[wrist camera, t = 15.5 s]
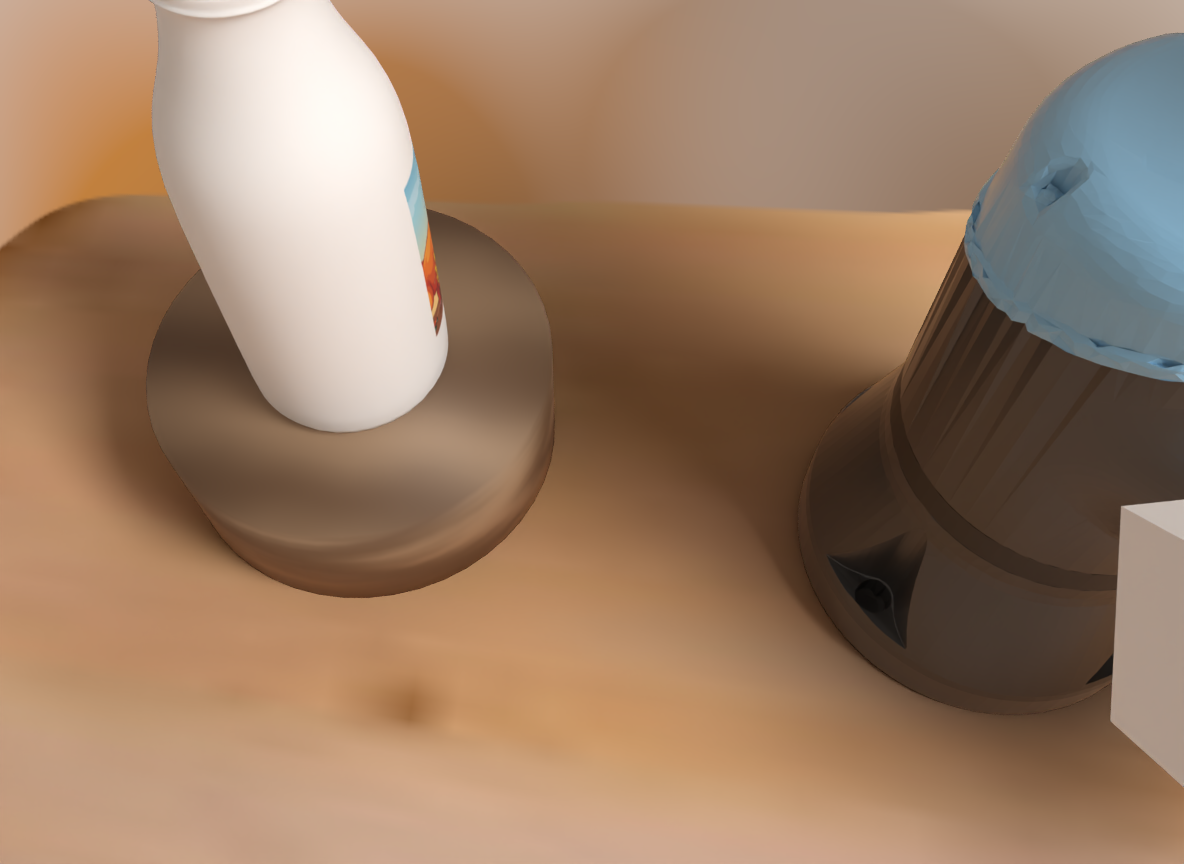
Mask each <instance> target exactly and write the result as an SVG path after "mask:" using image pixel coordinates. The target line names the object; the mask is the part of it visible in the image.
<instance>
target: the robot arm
mask: <svg viewBox="0 0 1184 864" xmlns="http://www.w3.org/2000/svg"><path fill="white" fill-rule="evenodd" d="M798 533H799V542H800V548H801V553H802V557H803V561H804V565H805V568H806V571H807V574H808V577H809V579H810V582H811V584H812V586H813V589H814V591H815V593H816V595H817V597H818V599H819V601H820V603H821V604H822V606H823V607H824V609H825V611H826V612H827V614H828V615H829V617H830V618H831V620H832V621H833V623H834V624H835V625H836V627H837V628H838V629H839V630H840V632H841V633H842V634H843V635H844V636H845V638H846V639H847V640H848V641H849V642H850V643H851V644H852V645H853V646H854V647H855V648H856V649H857V650H858V651H859V652H860V653H861V654H862V655H863V656H864V657H865V658H867V659H868V660H869V661H870V662H871V663H873V664H874V665H875V666H876V667H877V668H879V669H880V670H882V671H883V672H884V673H886V674H887V675H889V676H890V677H892V678H893V679H895V680H896V681H898V682H900V683H901V684H903V685H905V686H907V687H908V688H910V689H912V690H914V691H916V692H918V693H920V694H922V695H925V696H927V697H929V698H931V699H934V700H937V701H939V702H942V703H945V704H948V705H951V706H955V707H958V708H962V709H966V710H971V711H976V712H982V713H989V714H1000V715H1022V714H1034V713H1041V712H1047V711H1051V710H1056V709H1059V708H1063V707H1066V706H1069V705H1072V704H1074V703H1077V702H1079V701H1081V700H1084V699H1086V698H1087V697H1089V696H1091V695H1093V694H1095V693H1097V692H1098V691H1100V690H1101V689H1103V688H1104V687H1106V686H1107V685H1109V684H1110V683H1112V698H1111V717H1110V721H1111V722H1112V723H1113V724H1114V725H1115V726H1116V727H1117V728H1119V729H1120V730H1121V731H1122V732H1123V733H1124V734H1125V735H1126V736H1127V737H1128V738H1130V739H1131V740H1132V741H1133V742H1134V743H1135V744H1136V745H1137V746H1138V747H1140V748H1141V749H1142V750H1143V751H1144V752H1145V753H1146V754H1147V755H1148V756H1150V757H1151V758H1152V759H1153V760H1154V761H1155V762H1156V763H1157V764H1158V765H1160V766H1161V767H1162V768H1163V769H1164V770H1165V771H1166V772H1167V773H1168V774H1169V775H1171V776H1172V777H1173V778H1174V779H1175V780H1176V781H1177V782H1178V783H1179V784H1181V785H1182V786H1183V787H1184V33H1171V34H1164V35H1160V36H1156V37H1152V38H1149V39H1145V40H1142V41H1138V42H1135V43H1132V44H1130V45H1127V46H1124V47H1122V48H1119V49H1117V50H1114V51H1112V52H1110V53H1108V54H1106V55H1104V56H1102V57H1100V58H1098V59H1097V60H1095V61H1093V62H1091V63H1089V64H1087V65H1085V66H1084V67H1082V68H1081V69H1079V70H1078V71H1077V72H1075V73H1073V74H1072V75H1071V76H1070V77H1068V78H1067V79H1066V80H1064V81H1063V82H1062V83H1060V84H1059V85H1058V86H1057V87H1056V88H1055V89H1054V90H1053V91H1052V92H1051V93H1050V94H1049V95H1048V96H1047V97H1046V98H1045V99H1044V100H1043V101H1042V102H1041V104H1040V105H1039V106H1038V107H1037V108H1036V110H1035V111H1034V113H1033V114H1032V115H1031V117H1030V118H1029V120H1028V121H1027V122H1026V124H1025V126H1024V127H1023V129H1022V131H1021V132H1020V134H1019V136H1018V138H1017V139H1016V141H1015V143H1014V144H1013V146H1012V148H1011V150H1010V151H1009V153H1008V155H1007V156H1006V158H1005V160H1004V162H1003V163H1002V165H1001V167H1000V168H999V169H998V170H997V171H996V172H995V173H994V174H993V175H992V176H991V177H990V178H989V179H988V181H987V182H986V183H985V185H984V186H983V187H982V189H981V190H980V192H979V194H978V195H977V197H976V199H975V201H974V204H973V208H972V214H971V216H970V217H969V219H968V221H967V225H966V232H965V236H964V238H963V240H962V242H961V244H960V247H959V249H958V251H957V253H956V255H955V257H954V259H953V261H952V263H951V266H950V268H949V270H948V272H947V274H946V276H945V278H944V280H943V282H942V285H941V287H940V289H939V291H938V293H937V295H936V297H935V299H934V302H933V304H932V306H931V308H930V310H929V312H928V314H927V316H926V318H925V321H924V323H923V325H922V327H921V329H920V331H919V333H918V335H917V338H916V340H915V342H914V344H913V346H912V348H911V350H910V352H909V355H908V357H907V359H906V362H905V363H903V364H902V365H900V366H899V367H898V368H896V369H895V370H894V371H892V372H891V373H889V374H888V375H887V376H885V377H884V378H883V379H882V380H880V381H879V382H877V383H875V384H874V385H872V386H870V387H869V388H867V389H866V390H864V391H863V392H861V393H860V394H859V395H857V396H856V397H855V398H854V399H853V400H852V401H850V402H849V403H848V404H847V405H846V406H845V407H844V408H843V409H842V410H841V412H840V413H839V414H838V415H837V416H836V418H835V419H834V420H833V421H832V423H831V424H830V426H829V427H828V429H827V430H826V431H825V433H824V435H823V437H822V438H821V440H820V442H819V444H818V447H817V449H816V451H815V453H814V456H813V458H812V461H811V463H810V466H809V468H808V470H807V473H806V476H805V479H804V482H803V485H802V490H801V494H800V500H799V507H798Z"/></svg>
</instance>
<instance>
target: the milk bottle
mask: <svg viewBox="0 0 1184 864" xmlns="http://www.w3.org/2000/svg"><path fill="white" fill-rule="evenodd" d="M149 1H150V2H152V3H153V4H154V5H155V9H156V16H157V25H158V61H157V69H156V76H155V83H154V90H153V100H152V132H153V139H154V146H155V151H156V158H157V161H158V165H159V168H160V171H161V175H162V179H163V182H164V185H165V188H166V190H167V193H168V195H169V198H170V200H171V203H172V205H173V208H174V210H175V212H176V215H177V217H178V220H179V222H180V225H181V227H182V229H183V231H184V234H185V236H186V238H187V240H188V242H189V244H190V246H191V249H192V251H193V253H194V255H195V257H196V259H197V261H198V264H199V266H200V268H201V270H202V272H203V274H204V277H205V279H206V281H207V283H208V285H209V287H210V289H211V292H212V294H213V296H214V298H215V300H216V302H217V304H218V306H219V308H220V310H221V312H222V315H223V317H224V319H225V321H226V323H227V325H228V327H229V329H230V331H231V333H232V335H233V337H234V340H235V342H236V344H237V346H238V348H239V350H240V352H241V354H242V356H243V358H244V360H245V362H246V364H247V366H248V368H249V370H250V372H251V374H252V376H253V378H254V380H255V382H256V384H257V385H258V387H259V389H260V391H261V392H262V394H263V396H264V397H265V398H266V400H267V401H268V402H269V403H270V404H271V405H272V406H273V407H274V408H275V409H276V410H277V411H279V412H280V413H281V414H282V415H284V416H286V417H287V418H289V419H291V420H293V421H295V422H297V423H299V424H301V425H304V426H307V427H310V428H313V429H316V430H319V431H328V432H335V433H345V432H360V431H364V430H369V429H374V428H377V427H380V426H382V425H385V424H387V423H390V422H393V421H395V420H396V419H398V418H399V417H401V416H403V415H405V414H406V413H408V412H410V411H411V410H412V409H413V408H414V407H415V406H416V405H418V404H419V403H420V402H421V401H422V400H423V399H424V398H425V397H426V395H427V394H428V393H429V391H430V390H431V389H432V388H433V387H434V385H435V383H436V382H437V380H438V378H439V376H440V375H441V372H442V370H443V368H444V365H445V362H446V358H447V353H448V332H447V324H446V317H445V311H444V306H443V300H442V294H441V289H440V283H439V277H438V272H437V266H436V261H435V255H434V250H433V244H432V238H431V233H430V227H429V222H428V217H427V212H426V207H425V201H424V197H423V191H422V186H421V181H420V176H419V171H418V165H417V161H416V157H415V153H414V149H413V144H412V140H411V136H410V132H409V128H408V124H407V121H406V118H405V115H404V112H403V109H402V107H401V104H400V101H399V98H398V96H397V94H396V92H395V90H394V88H393V86H392V84H391V82H390V80H389V78H388V76H387V74H386V73H385V71H384V69H383V68H382V66H381V65H380V63H379V62H378V60H377V58H376V57H375V55H374V54H373V53H372V52H371V50H370V49H369V48H368V47H367V46H366V44H365V43H364V42H363V41H362V39H361V38H360V37H359V36H358V35H357V34H356V33H355V31H354V30H353V29H352V28H351V27H350V26H349V25H348V23H347V22H346V21H345V20H344V19H343V18H342V16H341V15H340V14H339V12H338V11H337V10H336V9H335V7H334V6H333V4H332V3H331V1H330V0H149Z"/></svg>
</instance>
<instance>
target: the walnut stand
mask: <svg viewBox="0 0 1184 864" xmlns="http://www.w3.org/2000/svg"><path fill="white" fill-rule="evenodd" d="M426 212H427V217H428V222H429V227H430V233H431V238H432V244H433V250H434V255H435V261H436V266H437V272H438V277H439V283H440V289H441V294H442V300H443V306H444V311H445V317H446V324H447V332H448V353H447V358H446V362H445V365H444V368H443V370H442V372H441V375H440V376H439V378H438V380H437V382H436V383H435V385H434V387H433V388H432V389H431V390H430V391H429V393H428V394H427V395H426V397H425V398H424V399H423V400H422V401H421V402H420V403H419V404H418V405H416V406H415V407H414V408H413V409H412V410H411V411H410V412H408V413H406V414H405V415H403V416H401V417H399V418H398V419H396V420H395V421H393V422H390V423H387V424H385V425H382V426H380V427H377V428H374V429H369V430H364V431H360V432H345V433H335V432H328V431H319V430H316V429H313V428H310V427H307V426H304V425H301V424H299V423H297V422H295V421H293V420H291V419H289V418H287V417H286V416H284V415H282V414H281V413H280V412H279V411H277V410H276V409H275V408H274V407H273V406H272V405H271V404H270V403H269V402H268V401H267V400H266V398H265V397H264V396H263V394H262V392H261V391H260V389H259V387H258V385H257V384H256V382H255V380H254V378H253V376H252V374H251V372H250V370H249V368H248V366H247V364H246V362H245V360H244V358H243V356H242V354H241V352H240V350H239V348H238V346H237V344H236V342H235V340H234V337H233V335H232V333H231V331H230V329H229V327H228V325H227V323H226V321H225V319H224V317H223V315H222V312H221V310H220V308H219V306H218V304H217V302H216V300H215V298H214V296H213V294H212V292H211V289H210V287H209V285H208V283H207V281H206V279H205V277H204V274H203V272H202V270H201V269H200V270H199V271H198V272H197V273H196V274H195V275H194V276H193V277H192V278H191V279H190V280H189V281H188V282H187V284H186V285H185V286H184V288H183V289H182V290H181V292H180V293H179V294H178V295H177V297H176V298H175V299H174V301H173V303H172V304H171V306H170V308H169V309H168V311H167V313H166V314H165V316H164V318H163V320H162V322H161V324H160V327H159V329H158V331H157V334H156V336H155V339H154V341H153V345H152V349H151V353H150V357H149V361H148V368H147V379H146V393H147V407H148V411H149V416H150V420H151V424H152V428H153V431H154V433H155V435H156V438H157V440H158V442H159V445H160V447H161V449H162V451H163V453H164V454H165V456H166V457H167V459H168V460H169V462H170V463H171V465H172V467H173V468H174V470H175V471H176V472H177V474H178V475H179V477H180V478H181V480H182V481H183V483H184V484H185V486H186V487H187V488H188V490H189V491H190V493H191V494H192V496H193V497H194V499H195V500H196V502H197V503H198V504H199V506H200V507H201V509H202V510H203V512H204V513H205V515H206V516H207V518H208V519H209V520H210V522H211V523H212V525H213V526H214V528H215V529H216V531H217V532H218V534H219V535H220V536H221V538H222V539H223V540H224V541H225V542H226V543H227V544H228V545H229V546H230V548H231V549H232V550H233V551H234V552H235V553H236V554H237V555H239V556H240V557H241V558H242V559H244V560H245V561H246V562H247V563H248V564H250V565H251V566H252V567H254V568H255V569H257V570H259V571H260V572H262V573H264V574H265V575H267V576H269V577H270V578H272V579H274V580H277V581H279V582H282V583H284V584H286V585H289V586H291V587H294V588H297V589H301V590H304V591H308V592H312V593H316V594H320V595H328V596H335V597H343V598H370V597H379V596H388V595H395V594H399V593H404V592H408V591H412V590H416V589H420V588H423V587H426V586H428V585H431V584H434V583H436V582H439V581H442V580H444V579H446V578H448V577H450V576H452V575H454V574H456V573H458V572H460V571H462V570H464V569H466V568H467V567H469V566H470V565H472V564H473V563H475V562H476V561H478V560H479V559H481V558H482V557H484V556H485V555H487V554H488V553H489V552H490V551H491V550H493V549H494V548H495V547H496V546H497V545H498V544H499V543H501V542H502V541H503V540H504V539H505V538H506V537H507V536H508V535H509V534H510V533H511V531H512V530H513V529H514V528H515V527H516V526H517V525H518V524H519V523H520V521H521V520H522V519H523V517H524V516H525V514H526V513H527V511H528V510H529V508H530V507H531V505H532V504H533V502H534V501H535V499H536V497H537V495H538V493H539V491H540V489H541V487H542V485H543V483H544V480H545V477H546V474H547V471H548V468H549V465H550V462H551V456H552V450H553V445H554V422H555V420H554V387H553V353H552V339H551V332H550V325H549V321H548V318H547V314H546V311H545V308H544V304H543V302H542V300H541V298H540V296H539V294H538V292H537V290H536V288H535V285H534V284H533V282H532V281H531V280H530V278H529V277H528V275H527V274H526V272H525V271H524V269H523V268H522V267H521V266H520V265H519V264H518V262H517V261H516V260H515V259H514V258H513V257H512V256H511V255H510V254H509V253H508V252H507V251H506V250H505V249H504V248H502V247H501V246H500V245H499V244H497V243H496V242H495V241H494V240H493V239H491V238H490V237H488V236H487V235H485V234H483V233H482V232H480V231H479V230H477V229H475V228H474V227H472V226H470V225H468V224H466V223H463V222H461V221H459V220H457V219H455V218H453V217H450V216H447V215H444V214H441V213H438V212H435V211H432V210H428V209H426Z"/></svg>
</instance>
